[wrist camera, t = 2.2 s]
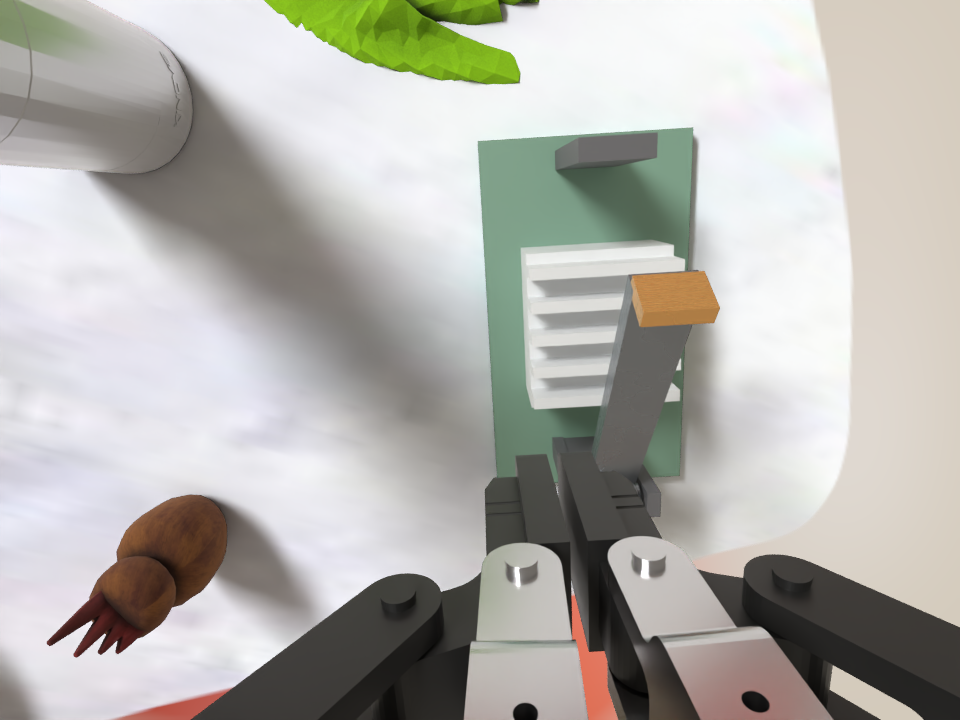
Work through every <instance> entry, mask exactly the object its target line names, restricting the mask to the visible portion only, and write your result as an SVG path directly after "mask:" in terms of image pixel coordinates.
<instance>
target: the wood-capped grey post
mask: <svg viewBox="0 0 960 720" xmlns="http://www.w3.org/2000/svg"><path fill="white" fill-rule="evenodd" d="M719 309H720V307H719V305H718V302H717V300H716V297H715V295H714V293H713V290H712V288H711V286H710V283H709V281H708V278H707V276H706V274H705V271H698V270H693V271H676V272H660V273H644V274H628V278H627V283H626V288H625V292H624V297H623V302H622V307H621V312H620V317H619V321H618V326H617V331H616V336H615V341H614V345H613V350H612V355H611V360H610V365H609V369H608V374H607V379H606V384H605V389H604V394H603V398H602V403H601V408H600V413H599V418H598V422H597V427H596V432H595V437H594V442H593V446H592V451H591V453H592V455H593V457H594V459H595V461H596V464H597V466H598V468H599V470H600V472H605V471H617V472H618V473H620V474H621V475H623V476H624V477H626V478H627V479H628V480H630V481H631V482H632V484H633V486H634V487H635V489H636V491H637V493H638V497H640V499H641V500H642V497H641V491H640V488H639V485H638V483H636V481H637V478H638V475H639V472H640V469H641V467H642V464H643V461H644V458H645V455H646V453H647V450H648V447H649V444H650V441H651V439H652V436H653V433H654V430H655V427H656V425H657V422H658V419H659V416H660V413H661V411H662V408H663V405H664V402H665V399H666V397H667V394H668V391H669V388H670V385H671V383H672V380H673V377H674V374H675V371H676V369H677V366H678V363H679V360H680V357H681V355H682V352H683V349H684V346H685V343H686V341H687V338H688V335H689V332H690V329H691V327H692V324H703V323H714V322H715V319H716V317H717V314H718V312H719Z"/></svg>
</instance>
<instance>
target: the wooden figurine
mask: <svg viewBox="0 0 960 720" xmlns="http://www.w3.org/2000/svg"><path fill="white" fill-rule="evenodd" d="M226 546H227V525H226V521H225V518H224V516H223V514H222V512H221V511H220V509H219V508H218V507H217V506H216V505H215V504H214V503H213V502H212V501H211V500H210V499H208V498H206V497H203V496H201V495H185V496H180V497H176V498H171V499H169V500H167V501H165V502H163V503H161V504H160V505H158V506H156V507H155V508H153V509H152V510H150V511H149V512H147V513H145V514H144V515H142V516H141V517H140V518H139V519H137V520H136V521H135V522H134V523H133V524H132V525H131V526H130V527H129V528H128V529H127V530H126V532H125V534H124V536H123V538H122V540H121V542H120V545H119V547H118V549H117V562H116V563H115V564H114V565H112V566H111V567H110V568H109V569H108V570H107V571H105V572H104V573H103V574H102V575H101V577H100V578H99V579H98V580H97V582H96V584H95V586H94V588H93V591H92V593H91V595H90V597H89V601H87V602H86V603H85V604H84V605H83V606H82V607H81V608H80V609H79V610H78V611H77V612H76V613H75V614H74V615H73V616H72V617H71V618H70V619H69V620H68V621H67V622H66V623H65V624H64V625H63V626H62V627H61V628H60V629H59V630H58V631H57V632H56V633H55V634H54V635H53V636H52V637H51V638H50V639H49V640H48V641H47V645H49V646H51V645H53V644H55V643H56V642H58V641H59V640H61V639H63V638H64V637H66V636H67V635H69V634H71V633H72V632H74V631H75V630H77V629H78V628H80V627H82V626H83V625H85V624H86V623H88V622H90V621H91V620H92V622H93V624H92V625H91V627H90V628H89V630H88V632H87V633H86V635H85V636H84V638H83V640H82V641H81V643H80V645H79V646H78V648H77V649H76V651H75V653H74V657H76V658H77V657H79V656H80V655H81V654H82V653H83V652H84V651H85V650H87V649H88V648H89V647H90V646H91V645H92V644H93V643H94V642H96V641H97V640H98V639H99V638H100V637H101V636H102V635H103V634H104V633H105V634H106V636H105V638H104V640H103V642H102V644H101V646H100V648H99V650H98V653H99V654H100V655H101V654H103V653H104V652H106V651H107V650H108V649H109V648H110V647H111V646H112V645H113V644H114V643H115V642H116V641H118V642H117V647H116V653H117V654H119V653H121V652H122V651H123V650H125V649H126V648H127V647H128V646H130V645H131V644H132V643H133V642H134V641H135V640H136V639H137V638H141V637H144V636H145V635H147V634H148V633H150V632H151V631H153V630H154V629H155V628H157V627H158V626H159V625H160V624H161V623H162V622H163V621H164V620H165V619H166V617H167V615H168V614H169V612H170V610H171V608H172V607H175V606H179V605H182V604H184V603H185V602H186V601H188V600H189V599H190V598H192V597H193V596H195V595H197V594H198V593H200V592H201V591H202V590H203V589H204V588H205V587H206V586H207V585H208V583H209V582H210V581H211V579H212V578H213V576H214V574H215V573H216V571H217V570H218V568H219V566H220V565H221V563H222V562H223V559H224V556H225V552H226Z"/></svg>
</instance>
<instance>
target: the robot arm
mask: <svg viewBox="0 0 960 720" xmlns="http://www.w3.org/2000/svg"><path fill="white" fill-rule="evenodd" d="M192 115H193V106H192V95H191V91H190V88H189V84H188V81H187V78H186V76H185V74H184V72H183V70H182V68H181V66H180V64H179V62H178V61H177V59H176V58H175V57H174V55H173V54H172V53H171V51H170V50H169V49H168V48H167V47H166V46H165V45H164V44H163V43H162V42H161V41H160V40H159V39H158V38H156V37H155V36H153V35H152V34H150V33H149V32H147V31H145V30H144V29H142V28H140V27H138V26H136V25H134V24H132V23H130V22H128V21H126V20H124V19H122V18H120V17H118V16H116V15H114V14H112V13H110V12H108V11H107V10H105V9H103V8H101V7H99V6H97V5H95V4H93V3H91V2H89V1H87V0H0V165H9V166H24V167H39V168H54V169H69V170H84V171H94V172H110V173H125V174H134V173H145V172H149V171H152V170H156V169H158V168H160V167H162V166H163V165H165V164H167V163H168V162H170V161H171V160H172V159H173V158H174V157H175V156H176V155H177V154H178V153H179V152H180V150H181V148H182V147H183V145H184V144H185V142H186V140H187V137H188V134H189V131H190V128H191V124H192ZM515 473H516V477H501V478H493V480H492V481H491V482H490V484H489V485H488V486H487V488H486V489H485V513H486V551H487V557H486V558H485V559H484V561H483V564H482V571H481V572H480V574H479V575H478V576H477V577H475V578H474V579H473V580H471V581H470V582H468V583H466V584H464V585H462V586H459V587H456V588H453V589H450V590H447V591H443V592H441V591H440V588H439V587H438V585H437V584H436V583H435V582H434V581H433V580H431V579H429V578H428V577H425V576H422V575H418V574H397V575H392V576H388V577H385V578H383V579H380V580H378V581H376V582H375V583H373V584H371V585H370V586H369V587H367V588H366V589H365V590H363V591H362V592H361V593H359V594H358V595H357V596H355V597H354V598H353V599H351V600H350V601H349V602H347V603H346V604H345V605H343V606H342V607H341V608H339V609H338V610H337V611H335V612H334V613H333V614H331V615H330V616H328V617H327V618H326V619H324V620H323V621H322V622H320V623H319V624H318V625H316V626H315V627H314V628H312V629H311V630H310V631H308V632H307V633H306V634H304V635H303V636H302V637H300V638H299V639H298V640H296V641H295V642H294V643H292V644H291V645H290V646H288V647H287V648H286V649H284V650H283V651H282V652H280V653H279V654H278V655H276V656H275V657H274V658H272V659H271V660H270V661H268V662H267V663H266V664H264V665H263V666H262V667H260V668H259V669H258V670H256V671H255V672H254V673H252V674H251V675H250V676H248V677H247V678H246V679H244V680H243V681H242V682H240V683H239V684H238V685H236V686H235V687H234V688H232V689H231V690H230V691H228V692H227V693H226V694H224V695H223V696H222V697H220V698H219V699H218V700H216V701H215V702H214V703H212V704H211V705H210V706H208V707H207V708H206V709H205V710H203V711H202V712H201V713H199V714H198V715H196V716H195V717H194V718H193V719H191V720H588V714H587V708H586V701H585V694H584V687H583V681H582V674H581V667H580V660H579V653H578V648H577V643H576V640H572V602H571V580H572V585H573V589H574V593H575V597H576V601H577V605H578V609H579V613H580V617H581V621H582V625H583V629H584V633H585V637H586V642H587V646H588V649H589V652H594V651H605V654H606V658H607V661H608V690H609V693H610V696H611V699H612V702H613V705H614V708H615V711H616V714H617V717H618V720H880V719H879V718H877V717H875V716H873V715H871V714H870V713H868V712H867V711H865V710H863V709H861V708H860V707H858V706H856V705H855V704H853V703H851V702H850V701H848V700H846V699H844V698H843V697H841V696H839V695H837V694H836V693H834V692H832V691H831V690H829V689H830V681H831V674H832V666H833V665H834V666H836V667H838V668H840V669H841V670H843V671H845V672H847V673H849V674H850V675H852V676H854V677H856V678H858V679H860V680H861V681H863V682H865V683H867V684H868V685H870V686H872V687H874V688H876V689H878V690H879V691H881V692H883V693H885V694H887V695H888V696H890V697H892V698H894V699H896V700H897V701H899V702H901V703H903V704H905V705H906V706H908V707H910V708H911V709H912V710H914V711H915V712H916V713H917V714H919V715H920V716H921V717H922V718H923V719H924V720H960V627H958V626H955V625H953V624H951V623H948V622H946V621H944V620H941V619H939V618H937V617H935V616H932V615H930V614H928V613H925V612H923V611H921V610H919V609H916V608H914V607H912V606H910V605H907V604H905V603H902V602H900V601H898V600H896V599H893V598H891V597H889V596H886V595H884V594H882V593H879V592H877V591H875V590H873V589H871V588H868V587H866V586H863V585H861V584H859V583H857V582H854V581H852V580H850V579H847V578H845V577H843V576H841V575H838V574H836V573H834V572H832V571H829V570H827V569H825V568H822V567H820V566H818V565H816V564H813V563H811V562H808V561H806V560H803V559H800V558H796V557H792V556H786V555H764V556H759V557H756V558H754V559H752V560H750V561H749V562H748V563H747V564H746V566H745V568H744V576H743V578H739V577H733V576H726V575H720V574H714V573H709V572H705V571H701V570H698V569H697V568H696V567H695V566H694V564H693V562H692V561H691V560H690V558H689V557H688V555H687V554H686V553H685V552H684V551H683V550H682V549H681V548H680V547H678V546H676V545H675V544H673V543H671V542H669V541H666V540H663V539H662V537H661V536H660V534H659V532H658V530H657V528H656V526H655V525H654V523H653V521H652V519H651V517H650V515H649V513H648V512H647V510H646V508H644V504H643V502H642V500H641V499H640V497H638V493H637V491H636V489H635V487H634V486H633V484H632V482H631V481H630V480H628V479H627V478H626V477H624V476H623V475H621V474H620V473H618V472H617V471H605V472H600V470H599V468H598V466H597V464H596V461H595V459H594V457H593V455H592V453H591V451H584V452H567V453H559V454H558V494H559V498H558V494H557V491H556V487H555V483H554V479H553V476H552V472H551V468H550V465H549V461H548V457H547V454H533V455H516V456H515Z"/></svg>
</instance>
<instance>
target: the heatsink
mask: <svg viewBox="0 0 960 720" xmlns="http://www.w3.org/2000/svg"><path fill="white" fill-rule="evenodd" d="M692 146H693V128H678V129H662V130H646V131H631V132H615V133H600V134H584V135H568V136H553V137H537V138H522V139H506V140H490V141H478V153H479V171H480V188H481V205H482V223H483V240H484V257H485V275H486V292H487V309H488V327H489V344H490V361H491V379H492V396H493V413H494V431H495V448H496V465H497V478H501V477H516V473H515V456H516V455H533V454H547V457H548V461H549V465H550V468H551V472H552V476H553V479H554V483H558V454H559V453H567V452H584V451H592V446H593V442H594V437H595V432H596V427H597V422H598V418H599V413H600V408H601V403H602V398H603V394H604V389H605V384H606V379H607V374H608V369H609V365H610V360H611V355H612V350H613V345H614V341H615V336H616V331H617V326H618V321H619V317H620V312H621V307H622V302H623V297H624V292H625V288H626V283H627V278H628V274H644V273H660V272H676V271H688V247H689V222H690V196H691V171H692ZM684 349H685V346H684ZM684 349H683V352H682V355H681V357H680V360H679V363H678V366H677V369H676V371H675V374H674V377H673V380H672V383H671V385H670V388H669V391H668V394H667V397H666V399H665V402H664V405H663V408H662V411H661V413H660V416H659V419H658V422H657V425H656V427H655V430H654V433H653V436H652V439H651V441H650V444H649V447H648V450H647V453H646V455H645V458H644V461H643V464H642V467H641V469H640V472H639V475H638V478H637V481H636V483H638V485H639V488H640V491H641V497H642V502H643V504H644V508H646V510H647V512H648V513H649V515H650V517H660V508H661V492H660V491H659V489H658V487H657V486H656V484H655V483H654V481H653V479H652V478H651V477H665V476H680V450H681V425H682V400H683V374H684Z"/></svg>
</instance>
